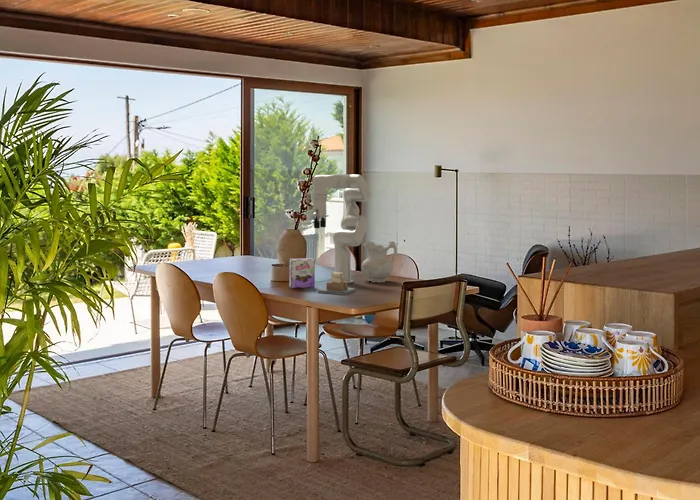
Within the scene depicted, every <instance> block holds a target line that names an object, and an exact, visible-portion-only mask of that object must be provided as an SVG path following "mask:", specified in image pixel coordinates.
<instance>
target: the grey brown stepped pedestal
mask: <svg viewBox="0 0 700 500" xmlns="http://www.w3.org/2000/svg"><path fill="white" fill-rule="evenodd" d="M348 285H349V283H348V282H347V281H343V282H341V283H334V282H331V280H330V281H327V282H326V287H324V288H323V287H322V288H321V289H318V290H317V292H318V294H329V295H330V294H331V295H349V294H351V293H354V292H356V287H348Z"/></svg>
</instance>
